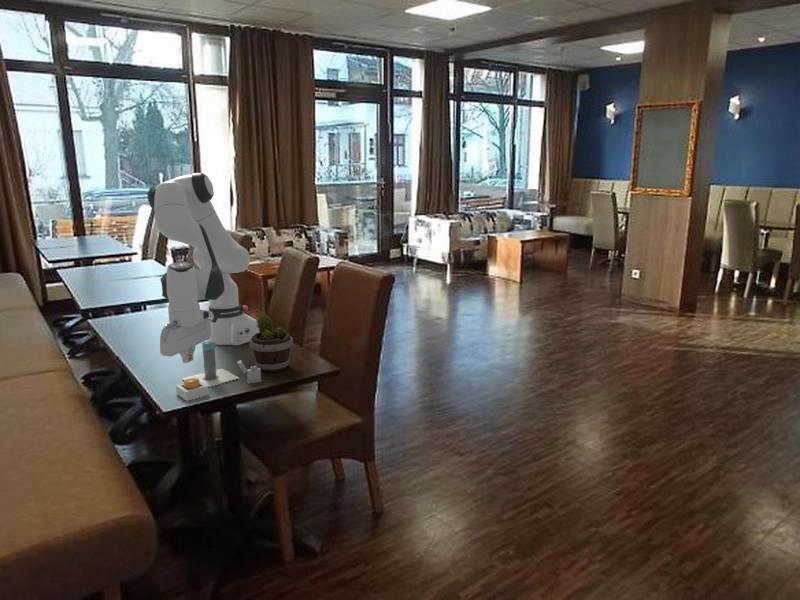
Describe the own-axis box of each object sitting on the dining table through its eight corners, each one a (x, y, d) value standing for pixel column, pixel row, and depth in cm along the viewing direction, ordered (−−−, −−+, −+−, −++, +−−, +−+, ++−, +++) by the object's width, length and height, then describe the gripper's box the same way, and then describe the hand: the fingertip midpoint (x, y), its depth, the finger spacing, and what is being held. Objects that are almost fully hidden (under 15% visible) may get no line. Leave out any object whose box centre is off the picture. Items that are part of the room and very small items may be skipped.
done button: (195, 383, 182) (195, 377, 181) (202, 387, 178) (201, 380, 178) (181, 386, 179) (181, 380, 178) (188, 390, 175) (187, 384, 175)
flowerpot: (303, 367, 203) (301, 312, 198) (264, 378, 193) (261, 320, 188) (279, 357, 213) (277, 304, 209) (242, 367, 203) (238, 312, 198)
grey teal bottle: (213, 374, 194) (211, 340, 191) (218, 377, 191) (216, 343, 189) (202, 377, 191) (200, 342, 189) (208, 380, 189) (205, 345, 186)
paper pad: (221, 370, 200) (221, 368, 200) (239, 379, 192) (239, 377, 192) (182, 380, 191) (181, 378, 191) (198, 390, 183) (198, 388, 182)
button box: (198, 388, 184) (197, 379, 183) (208, 395, 179) (207, 385, 178) (176, 394, 179) (175, 385, 178) (186, 401, 174) (185, 391, 174)
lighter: (259, 379, 192) (258, 356, 190) (261, 381, 190) (260, 358, 188) (238, 383, 188) (236, 360, 186) (239, 385, 187) (238, 361, 185)
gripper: (171, 327, 163) (175, 374, 166) (213, 310, 182) (216, 352, 185) (152, 325, 164) (156, 371, 167) (196, 308, 183) (198, 350, 187)
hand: (188, 361), depth 176 cm, fingers closed
